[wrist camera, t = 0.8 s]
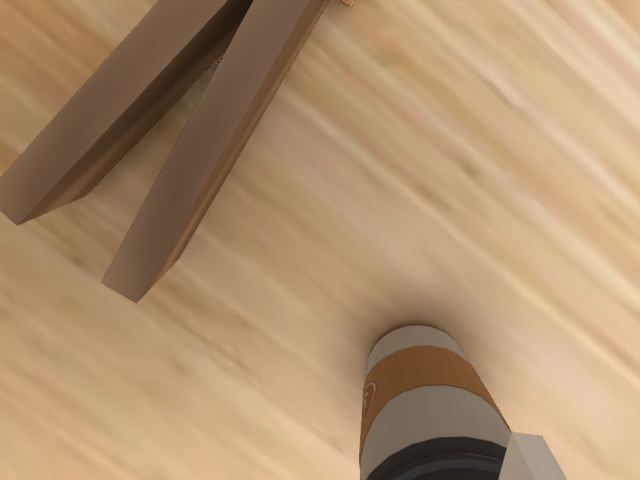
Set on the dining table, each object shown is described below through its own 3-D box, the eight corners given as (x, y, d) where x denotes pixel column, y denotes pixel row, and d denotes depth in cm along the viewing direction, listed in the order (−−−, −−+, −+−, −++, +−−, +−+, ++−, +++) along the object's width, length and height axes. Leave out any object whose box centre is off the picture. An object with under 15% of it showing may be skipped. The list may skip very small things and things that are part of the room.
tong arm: (60, 171, 32) (-16, 195, 25) (252, -35, 28) (223, -72, 21) (85, 195, 32) (17, 225, 26) (278, -5, 29) (257, -32, 22)
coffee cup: (355, 302, 33) (362, 468, 19) (488, 311, 33) (597, 485, 19) (346, 416, 36) (346, 639, 21) (470, 425, 36) (555, 657, 21)
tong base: (117, 222, 33) (54, 261, 26) (298, -118, 27) (281, -189, 20) (178, 258, 33) (133, 306, 26) (368, -68, 27) (376, -120, 20)
